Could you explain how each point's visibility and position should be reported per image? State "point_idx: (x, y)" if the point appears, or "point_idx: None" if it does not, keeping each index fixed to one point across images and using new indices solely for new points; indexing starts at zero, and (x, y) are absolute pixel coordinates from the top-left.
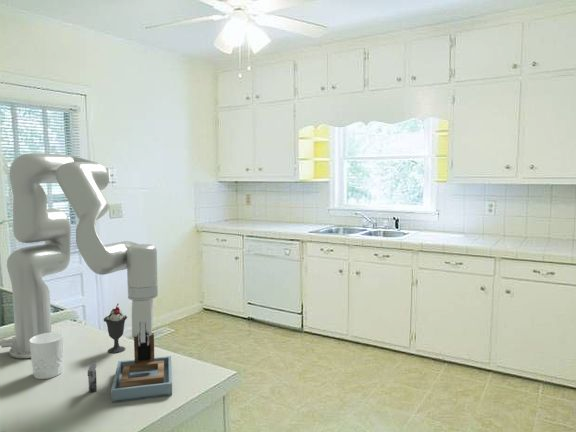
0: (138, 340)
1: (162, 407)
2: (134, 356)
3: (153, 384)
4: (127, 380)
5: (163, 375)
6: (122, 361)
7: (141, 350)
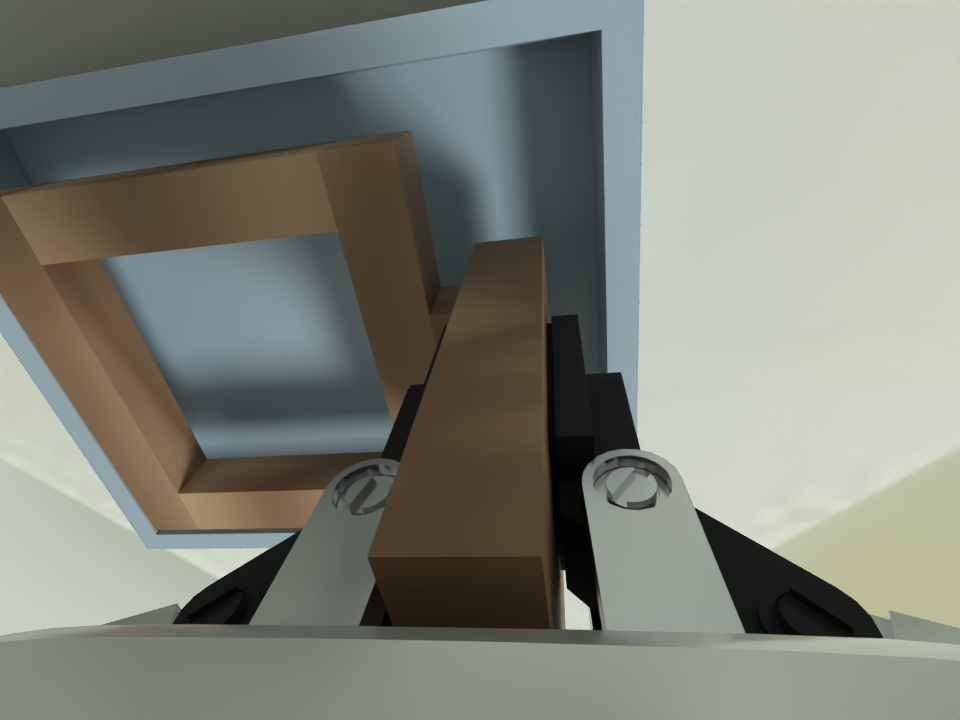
0: (275, 582)
1: (57, 447)
2: (458, 296)
3: (97, 454)
4: (5, 271)
5: (185, 527)
6: (620, 51)
7: (386, 454)
